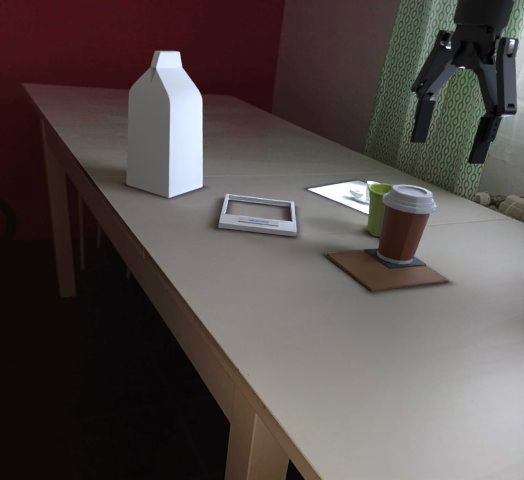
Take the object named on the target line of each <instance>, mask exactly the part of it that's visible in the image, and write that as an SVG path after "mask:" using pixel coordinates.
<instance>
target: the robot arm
mask: <svg viewBox="0 0 524 480" xmlns="http://www.w3.org/2000/svg"><path fill="white" fill-rule="evenodd" d="M514 5H515V1H514V0H457V2H456V5H455V10H454V15H453V17H452V18H453V19H452V20H453V23H454V25H456V26H455V29H454V30H447V29H440V30H439V31H438V32H437V34H436V38H435V40H434V41H435V42H434V44H433V46H432V48H431V50H430V52H429V54H428V56H427V58H426V59H425V62H424V63H423V64H422V67H421V68H420V70H419V72H418V74H417V76H416V78H415V79H414V81H413V83H412V85H411V87H410V92H411V93H412V94H415V95H416V98H417V102H416V107H415V112H414V116H413V119H414V123H413V126H412V127H413V128H412V131H411V136H410V141H409V142H410V143H413V144H425V143H426V141H427V138H428V133H429V130H430V126H431V121H432V118H433V113H434V110H435V106H436V97H435V96H436V95H437V94H438V93H439V91H440V90H441V89H442V88H443V87H444V85H445V84H446V83H447V82H448V81H449V80H450V78H452V77H453V75H455V73H456V72H457V71H458V70H460V69H466V70H469V71H470V70H471V71H473V73H474V74H475V75H476V77H477V82H478V86H479V89H480V94H481V98H482V101H483V106H484V110H485V113H484V114H482V115H481V116H480V118H479V121H478V125H477V128H476V132H475V135H474V139H473V142H472V146H471V149H470V152H469V156H468V159H467V163H468V164H469V165H485V162H486V159H487V156H488V153H489V149H490V147H491V143H494V142H495V140H496V138H497V134H498V131H499V128H500V125H501V122H502V120H503V119H504V118H505V117H510V116H511V117H513V116H515V115H517V112H518V97H517V94H518V93H517V66H516V65H517V64H516V60H517V59H516V57H517V53H518V48H519V43H520V41H519V38H516V37H508V36H502V32H503V30H505V29H506V28H507V27H508V26H509V22H510V18H511V14H512V12H513V9H514ZM495 54H496V55H495ZM495 56H496V57H495Z"/></svg>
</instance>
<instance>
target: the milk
mask: <svg viewBox="0 0 524 480" xmlns="http://www.w3.org/2000/svg"><path fill="white" fill-rule="evenodd" d="M127 105H128V107H127V140H126V141H127V143H126V145H127V146H126V147H127V149H126V177H125V178H126V181H125V182H126V185H127V186H130V187H132V188H136V189H139V190H142V191H145V192H149V193H152V194H155V195H158V196H161V197H163V198H168V199H171V198H173V197H176V196H180V195H182V194H186V193H188V192H192V191H195V190H197V189H200V188H203V187H204V186H203V185H204V183H203V181H204V178H203V177H204V176H203V175H204V173H203V172H204V171H203V170H204V169H203V167H204V166H203V165H204V163H203V159H204V158H203V157H204V156H203V152H204V151H203V145H204V144H203V143H204V141H203V140H204V139H203V97H202V93H201V92H200V89H198V87H197V86H196V84H195V82H193V80H192V78H191V77H190V76H189V75H188V73H187V71H185V69H184V68H183V63H182V59H181V52H180V51H178V50H177V51H176V50H154V53H153V56H152V59H151V64H150V67H149V68H148V69H147V70H146V71H145V72H144V73H143V74H142V75H141V76H140V77H139V78H138V79H137V80H136V81H135V82H134V83H133V84H132V85H131V88H129V92H128V104H127Z"/></svg>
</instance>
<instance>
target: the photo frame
mask: <svg viewBox="0 0 524 480" xmlns="http://www.w3.org/2000/svg"><path fill="white" fill-rule="evenodd" d="M229 200H230V201H238V202H246V203H256V204H264V205H271V206H280V207H287V208H290V218H291V221H288V220H280V219H271V218H265V217H264V218H263V217H257V216H248V215H247V216H246V215H237V214H230V213H226V212H227V208H228V203H229ZM295 208H296V207H295V202H294V201H289V200H288V201H287V200H282V199H281V200H279V199H273V198H272V199H271V198H265V197H264V198H263V197H255V196H247V195H239V194H229V193H226V194H225V196H224V201H223V205H222V209H221V212H220V217H219V221H218V228H219V229H228V230H235V231H245V232H254V233H263V234H270V235H278V236H287V237H297V234H298V228H297V227H298V226H297V218H296V209H295Z"/></svg>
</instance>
